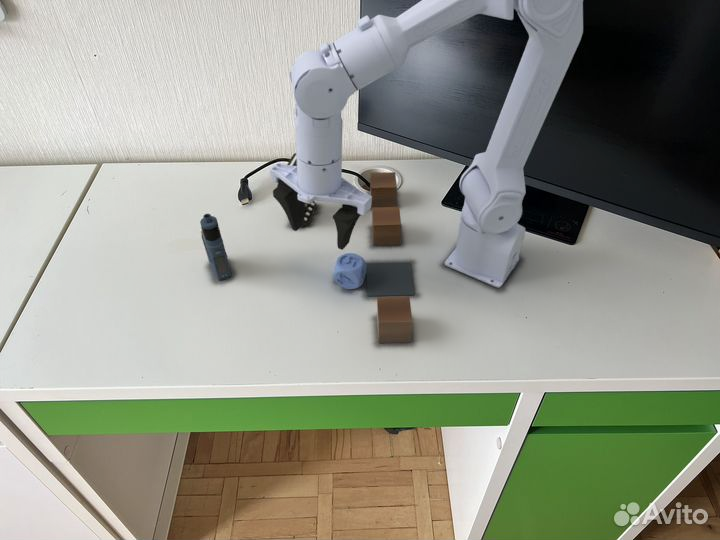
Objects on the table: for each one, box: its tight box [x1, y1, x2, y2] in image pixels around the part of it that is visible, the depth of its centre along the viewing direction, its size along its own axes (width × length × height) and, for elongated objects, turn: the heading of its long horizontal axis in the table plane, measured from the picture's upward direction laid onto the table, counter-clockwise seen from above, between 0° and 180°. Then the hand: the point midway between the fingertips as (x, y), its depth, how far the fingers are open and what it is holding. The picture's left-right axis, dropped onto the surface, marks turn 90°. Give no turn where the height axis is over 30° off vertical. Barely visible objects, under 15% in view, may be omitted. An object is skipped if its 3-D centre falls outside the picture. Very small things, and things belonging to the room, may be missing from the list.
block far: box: [369, 171, 398, 209], centre depth 95 cm, size 4×4×4 cm
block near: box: [376, 296, 413, 344], centre depth 73 cm, size 4×4×4 cm
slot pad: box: [365, 261, 415, 298], centre depth 82 cm, size 7×7×1 cm
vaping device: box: [199, 213, 233, 281], centre depth 80 cm, size 3×5×12 cm, turn 28°
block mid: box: [371, 206, 402, 247], centre depth 88 cm, size 4×4×4 cm
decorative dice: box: [333, 252, 367, 290], centre depth 81 cm, size 4×4×4 cm
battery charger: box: [286, 152, 317, 227], centre depth 89 cm, size 7×4×11 cm, turn 166°
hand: (320, 235), depth 76 cm, fingers open, 7 cm apart
